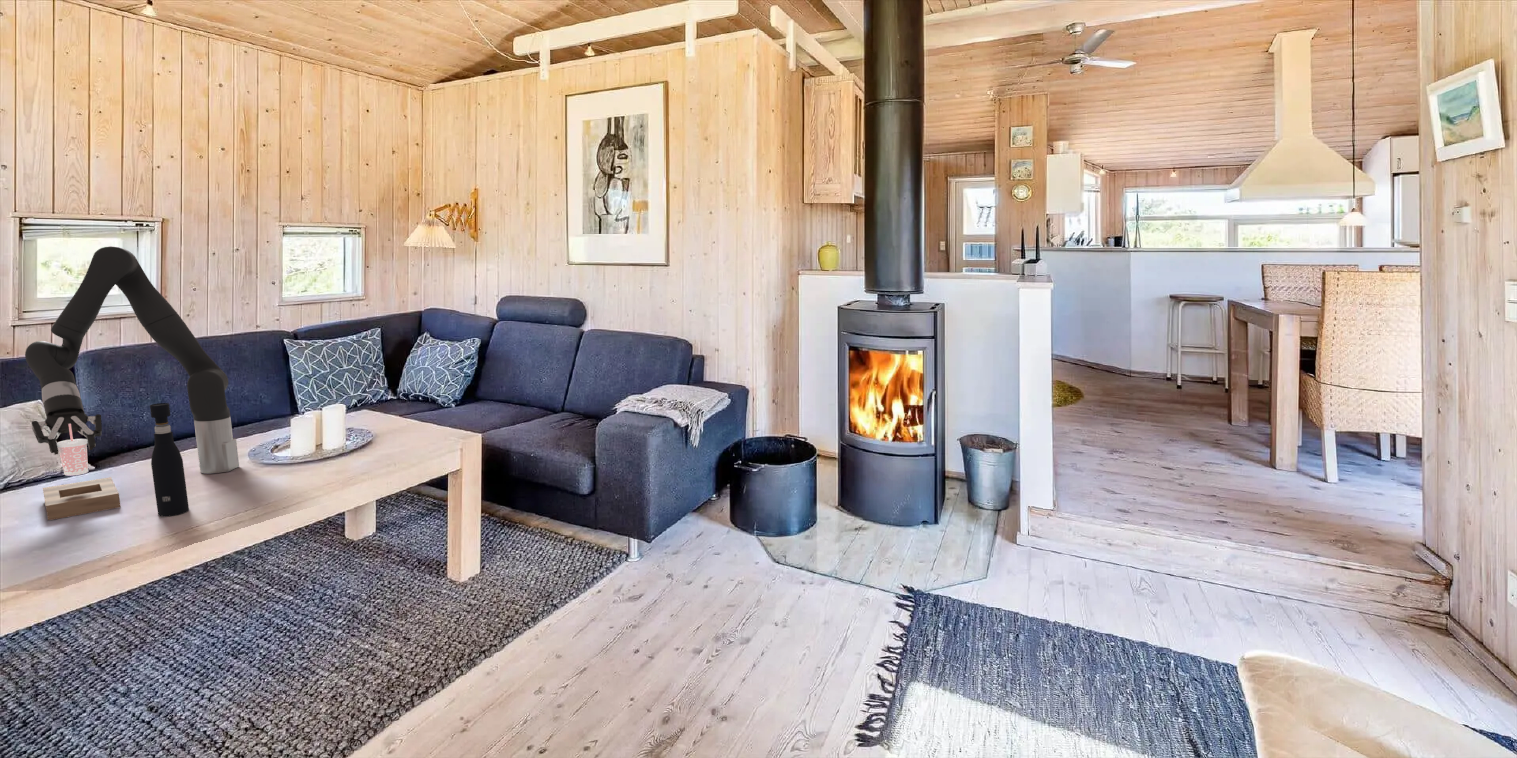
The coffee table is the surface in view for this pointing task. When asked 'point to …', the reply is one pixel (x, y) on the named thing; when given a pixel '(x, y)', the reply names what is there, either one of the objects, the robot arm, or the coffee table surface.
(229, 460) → the robot arm
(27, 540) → the coffee table surface
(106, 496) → the wooden cup holder
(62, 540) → the coffee table surface
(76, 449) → the beverage cup
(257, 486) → the coffee table surface
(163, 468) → the black water bottle
